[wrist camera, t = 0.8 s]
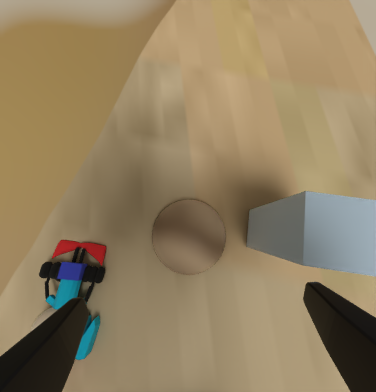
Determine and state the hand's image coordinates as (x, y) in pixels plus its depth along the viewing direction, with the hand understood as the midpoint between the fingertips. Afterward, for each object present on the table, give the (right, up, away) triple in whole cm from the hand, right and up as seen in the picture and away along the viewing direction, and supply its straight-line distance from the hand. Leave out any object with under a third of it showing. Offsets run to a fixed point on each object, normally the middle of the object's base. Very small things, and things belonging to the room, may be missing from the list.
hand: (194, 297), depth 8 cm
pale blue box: (+10, 0, +16) cm, 19 cm away
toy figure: (-14, -9, +15) cm, 23 cm away
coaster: (0, -1, +16) cm, 16 cm away
